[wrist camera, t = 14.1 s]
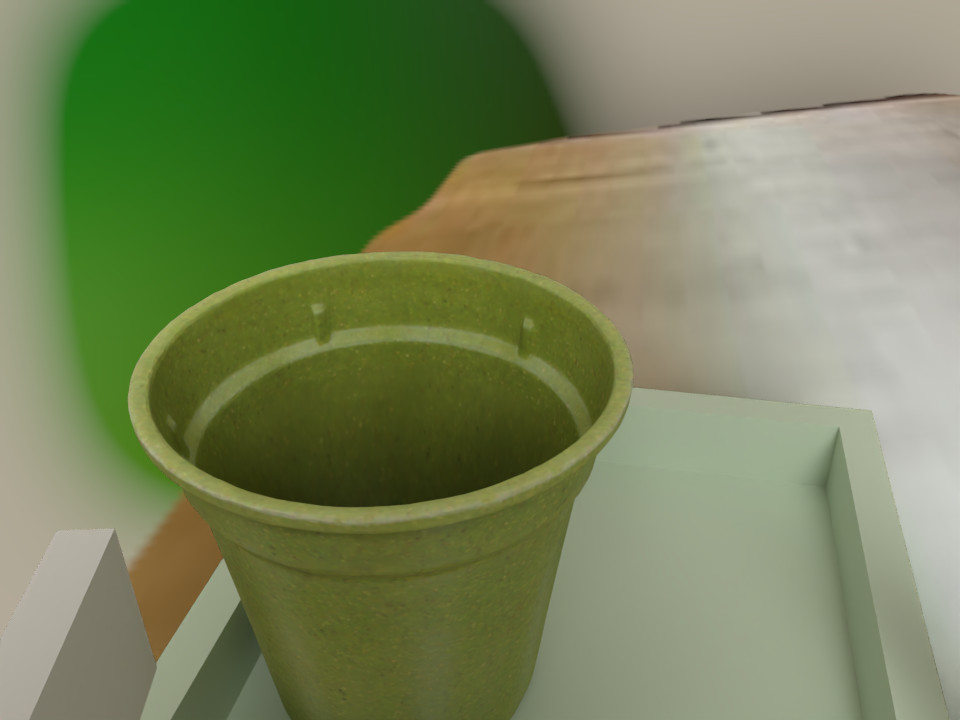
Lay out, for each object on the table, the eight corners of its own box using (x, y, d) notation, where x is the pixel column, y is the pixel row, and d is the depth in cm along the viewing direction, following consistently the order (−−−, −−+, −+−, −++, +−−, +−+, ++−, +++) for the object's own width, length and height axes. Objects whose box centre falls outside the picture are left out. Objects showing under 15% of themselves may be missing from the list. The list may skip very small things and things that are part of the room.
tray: (358, 434, 31) (349, 360, 30) (852, 490, 28) (871, 410, 27) (97, 907, 18) (57, 817, 17) (972, 1109, 15) (1025, 1022, 14)
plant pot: (489, 488, 28) (485, 219, 23) (689, 729, 20) (740, 407, 16) (172, 600, 24) (92, 306, 19) (279, 940, 17) (193, 601, 12)
